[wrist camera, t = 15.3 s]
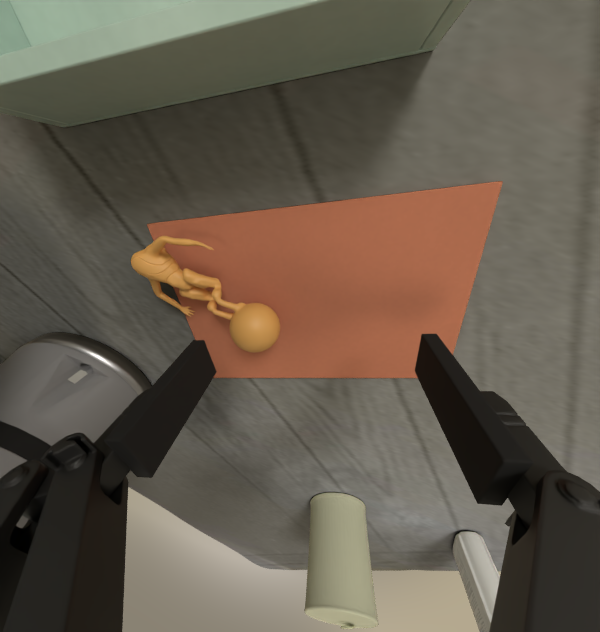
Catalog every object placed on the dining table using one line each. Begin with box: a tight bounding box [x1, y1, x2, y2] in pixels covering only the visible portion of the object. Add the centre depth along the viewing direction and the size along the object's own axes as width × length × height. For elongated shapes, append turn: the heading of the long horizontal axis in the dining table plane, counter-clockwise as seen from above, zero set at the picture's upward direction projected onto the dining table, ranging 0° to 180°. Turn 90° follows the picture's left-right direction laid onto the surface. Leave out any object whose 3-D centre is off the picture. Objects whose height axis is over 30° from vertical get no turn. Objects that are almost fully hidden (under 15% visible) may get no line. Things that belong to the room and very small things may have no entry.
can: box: [305, 492, 378, 629], centre depth 32 cm, size 9×9×12 cm
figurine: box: [131, 236, 280, 352], centre depth 17 cm, size 8×6×12 cm
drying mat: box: [147, 181, 503, 378], centre depth 19 cm, size 24×16×1 cm, turn 97°
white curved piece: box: [453, 531, 500, 632], centre depth 34 cm, size 10×4×12 cm, turn 15°
